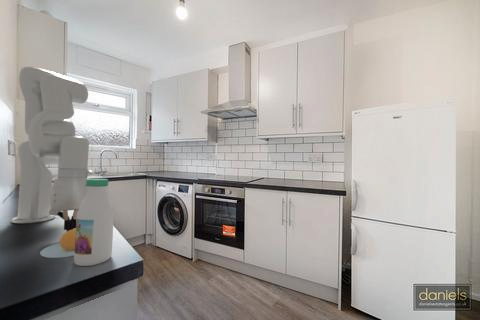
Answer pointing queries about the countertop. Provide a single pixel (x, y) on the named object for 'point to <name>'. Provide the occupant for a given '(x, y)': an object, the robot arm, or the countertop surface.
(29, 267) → the countertop surface
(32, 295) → the countertop surface
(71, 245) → the ball
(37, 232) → the countertop surface
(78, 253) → the milk bottle
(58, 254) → the disc
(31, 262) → the countertop surface
